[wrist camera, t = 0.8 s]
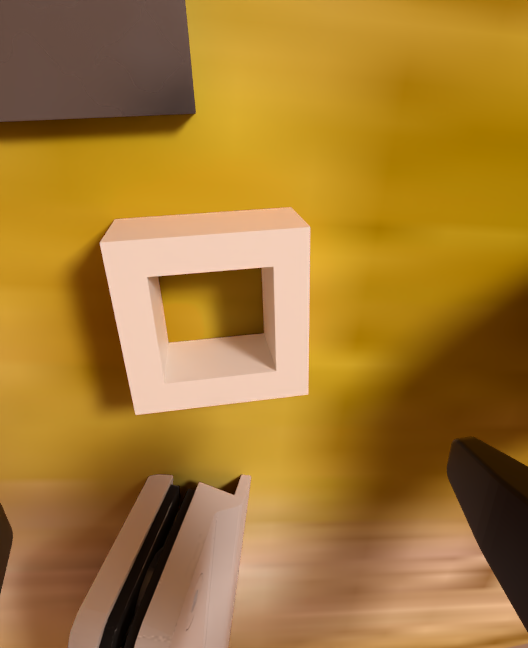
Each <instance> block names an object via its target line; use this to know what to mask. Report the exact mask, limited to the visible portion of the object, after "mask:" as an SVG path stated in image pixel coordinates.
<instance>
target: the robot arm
mask: <svg viewBox="0 0 528 648" xmlns="http://www.w3.org/2000/svg"><path fill="white" fill-rule="evenodd" d="M447 475H448V479H449V481H450V483H451V486H452V488H453V490H454V492H455V495H456V497H457V499H458V501H459V504H460V506H461V508H462V510H463V512H464V515H465V517H466V519H467V521H468V524H469V526H470V528H471V530H472V532H473V535H474V537H475V539H476V541H477V543H478V545H479V547H480V549H481V551H482V553H483V555H484V557H485V558H486V560H487V562H488V564H489V566H490V567H491V569H492V571H493V573H494V574H495V576H496V578H497V580H498V581H499V583H500V585H501V587H502V588H503V590H504V592H505V594H506V595H507V597H508V599H509V601H510V602H511V604H512V606H513V608H514V609H515V611H516V613H517V614H518V616H519V618H520V620H521V621H522V623H523V625H524V627H525V628H526V630H527V632H528V467H527V466H526V465H524V464H522V463H520V462H518V461H517V460H515V459H513V458H511V457H510V456H508V455H506V454H504V453H502V452H501V451H499V450H497V449H495V448H493V447H492V446H490V445H488V444H486V443H484V442H483V441H481V440H479V439H477V438H475V437H464V438H457V439H454V440H453V442H452V444H451V449H450V454H449V459H448V464H447ZM12 539H13V533H12V528H11V526H10V523H9V521H8V519H7V516H6V514H5V512H4V510H3V507H2V505H1V503H0V593H1V589H2V584H3V580H4V576H5V571H6V567H7V563H8V558H9V554H10V549H11V545H12Z"/></svg>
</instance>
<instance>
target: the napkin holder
mask: <svg viewBox="0 0 528 648" xmlns="http://www.w3.org/2000/svg"><path fill="white" fill-rule="evenodd" d="M250 482H251V476H249V475H241V477H240V480H239V483H238V486H237V489H236V492H235V495H232V494H230V493H227V492H225V491H222V490H219V489H217V488H214V487H212V486H209V485H206V484H204V483H201V482H199V483H198V486H197V488H196V490H193V489H188V491H187V493H186V495H185V498H184V500H183V502H182V505H181V507H180V510H179V511H178V504H179V486H176V485H173V475H161V474H158V475H153V476H149V477H148V479H147V481H146V483H145V485H144V486H143V488H142V490H141V492H140V494H139V496H138V498H137V500H136V502H135V504H134V505H133V507H132V509H131V511H130V513H129V515H128V517H127V519H126V521H125V523H124V525H123V526H122V528H121V530H120V532H119V534H118V536H117V538H116V540H115V542H114V544H113V545H112V547H111V549H110V551H109V553H108V555H107V557H106V559H105V561H104V563H103V565H102V566H101V568H100V570H99V572H98V574H97V576H96V578H95V580H94V582H93V584H92V585H91V587H90V589H89V591H88V593H87V595H86V597H85V599H84V601H83V603H82V604H81V606H80V608H79V610H78V613H77V615H76V618H75V620H74V623H73V626H72V629H71V632H70V636H69V642H68V648H228V647H229V639H230V632H231V624H232V617H233V609H234V602H235V594H236V587H237V579H238V572H239V564H240V557H241V549H242V542H243V534H244V527H245V519H246V512H247V504H248V497H249V489H250Z"/></svg>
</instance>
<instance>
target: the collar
mask: <svg viewBox="0 0 528 648" xmlns="http://www.w3.org/2000/svg"><path fill="white" fill-rule="evenodd" d="M100 247H101V252H102V257H103V262H104V266H105V271H106V276H107V281H108V286H109V290H110V295H111V300H112V305H113V309H114V314H115V319H116V324H117V329H118V333H119V338H120V343H121V348H122V353H123V357H124V362H125V367H126V372H127V376H128V381H129V386H130V391H131V396H132V400H133V405H134V410H135V415H140V414H148V413H156V412H165V411H173V410H182V409H190V408H198V407H207V406H215V405H224V404H232V403H240V402H249V401H257V400H266V399H274V398H282V397H291V396H299V395H308V372H309V289H310V226H309V225H308V224H307V223H306V222H305V221H304V220H303V219H302V218H301V217H300V216H299V215H298V214H297V213H296V212H295V211H294V210H293V209H292V208H291V207H287V208H272V209H257V210H243V211H228V212H213V213H199V214H184V215H169V216H155V217H140V218H125V219H115V220H114V221H113V223H112V224H111V226H110V227H109V229H108V230H107V232H106V234H105V235H104V237H103V238H102V240H101V241H100ZM250 268H262V293H263V318H264V333H261V334H252V335H242V336H232V337H222V338H212V339H202V340H192V341H182V342H173V343H168V337H167V330H166V324H165V317H164V311H163V304H162V297H161V291H160V284H159V278H158V276H167V275H179V274H190V273H202V272H214V271H226V270H238V269H250Z"/></svg>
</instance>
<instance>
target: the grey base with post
mask: <svg viewBox="0 0 528 648" xmlns="http://www.w3.org/2000/svg"><path fill="white" fill-rule="evenodd" d="M173 114H196V111H195V100H194V90H193V79H192V69H191V58H190V48H189V37H188V27H187V16H186V6H185V0H0V122H6V121H30V120H54V119H78V118H101V117H125V116H149V115H173Z"/></svg>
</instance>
